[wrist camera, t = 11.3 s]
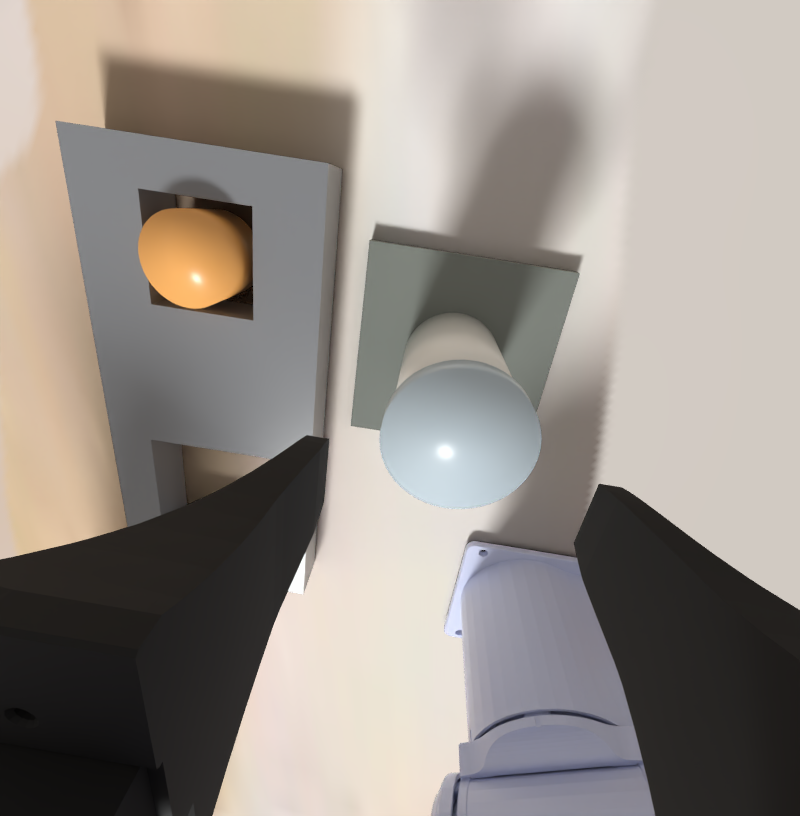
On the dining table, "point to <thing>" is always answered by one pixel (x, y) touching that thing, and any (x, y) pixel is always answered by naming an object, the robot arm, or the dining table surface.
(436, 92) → the dining table surface
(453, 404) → the cylinder
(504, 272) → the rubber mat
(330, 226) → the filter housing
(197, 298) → the release plunger
